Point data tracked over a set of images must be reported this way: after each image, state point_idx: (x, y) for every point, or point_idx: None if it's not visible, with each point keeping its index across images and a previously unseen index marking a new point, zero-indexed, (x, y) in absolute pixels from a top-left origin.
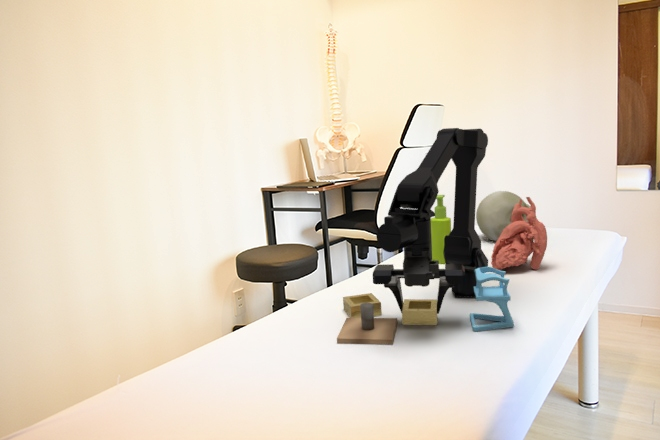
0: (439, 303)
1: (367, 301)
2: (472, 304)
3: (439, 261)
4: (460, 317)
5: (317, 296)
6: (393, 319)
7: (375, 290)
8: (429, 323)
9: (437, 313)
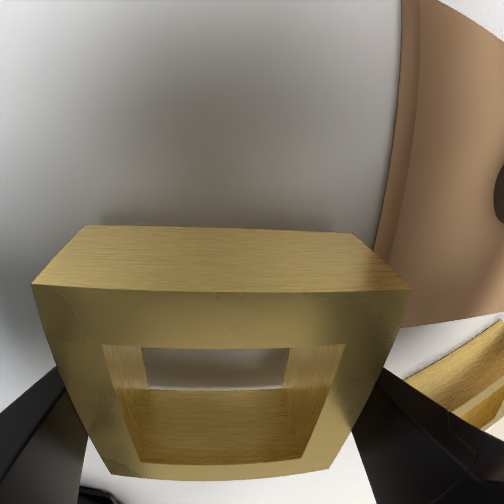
0: (31, 404)
1: None
2: None
3: None
4: (24, 372)
5: (486, 429)
6: None
7: (354, 497)
8: (137, 231)
9: None
